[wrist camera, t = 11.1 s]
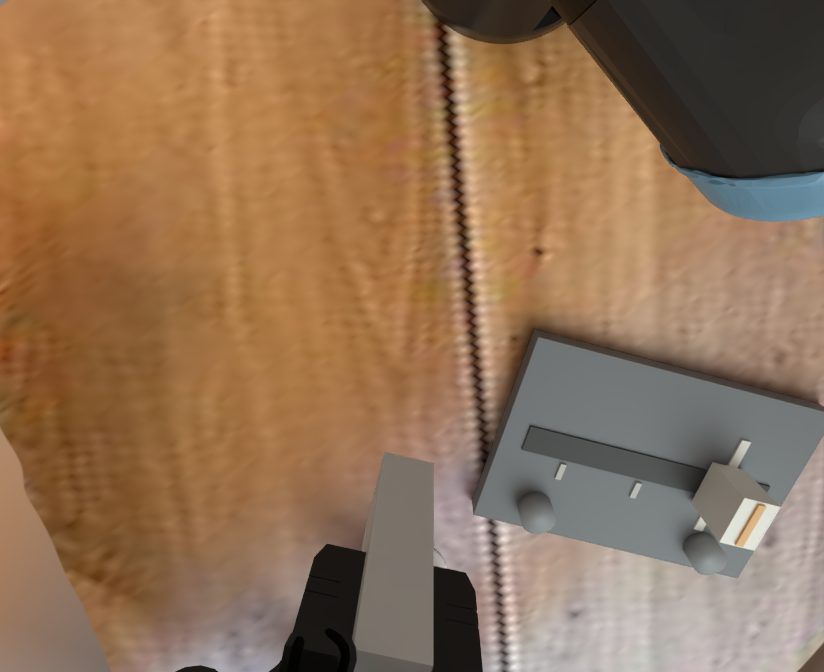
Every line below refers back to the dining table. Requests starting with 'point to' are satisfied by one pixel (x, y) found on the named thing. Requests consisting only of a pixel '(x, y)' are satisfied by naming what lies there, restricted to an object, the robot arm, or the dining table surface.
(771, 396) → the console board
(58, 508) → the dining table surface
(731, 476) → the fader tab
